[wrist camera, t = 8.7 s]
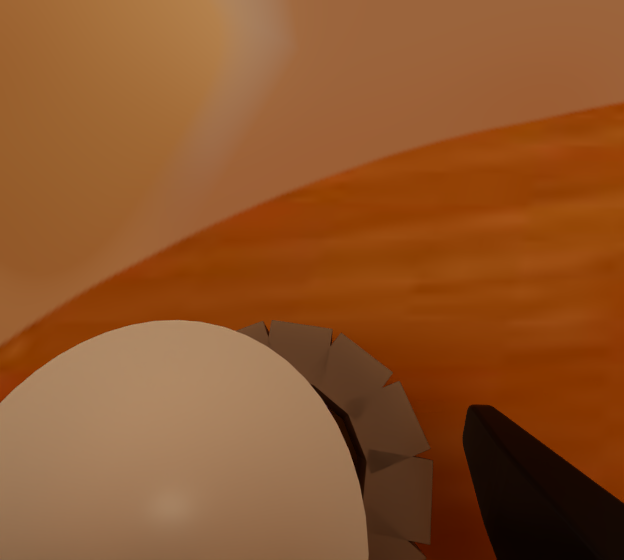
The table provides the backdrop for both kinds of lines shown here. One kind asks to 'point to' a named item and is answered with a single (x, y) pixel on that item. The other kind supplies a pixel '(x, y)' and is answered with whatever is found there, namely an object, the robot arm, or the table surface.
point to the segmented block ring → (367, 432)
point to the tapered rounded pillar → (175, 454)
